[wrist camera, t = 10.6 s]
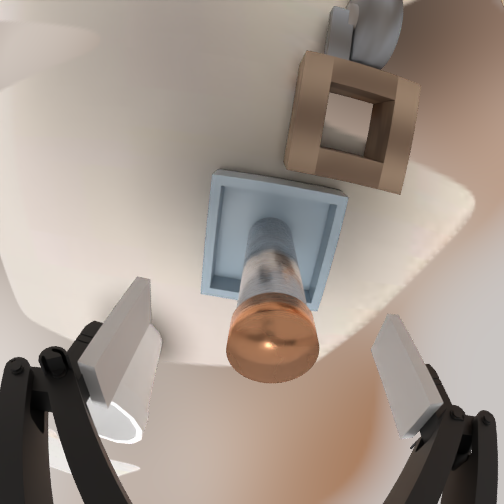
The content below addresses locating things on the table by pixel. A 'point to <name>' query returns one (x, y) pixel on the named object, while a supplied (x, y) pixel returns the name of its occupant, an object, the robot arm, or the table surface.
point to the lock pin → (271, 310)
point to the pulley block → (358, 87)
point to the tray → (265, 206)
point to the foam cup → (131, 395)
